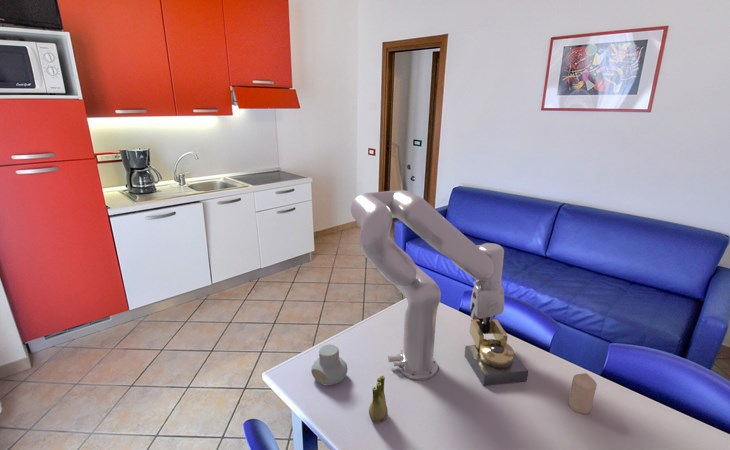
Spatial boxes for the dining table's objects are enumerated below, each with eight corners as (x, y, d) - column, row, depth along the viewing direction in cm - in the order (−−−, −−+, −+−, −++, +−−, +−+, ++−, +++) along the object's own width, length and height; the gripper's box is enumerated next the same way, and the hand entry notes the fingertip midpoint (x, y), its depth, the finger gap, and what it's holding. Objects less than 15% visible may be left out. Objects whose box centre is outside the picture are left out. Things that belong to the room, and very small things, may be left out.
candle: (569, 396, 105) (575, 367, 102) (591, 404, 102) (598, 375, 99) (566, 408, 101) (572, 378, 98) (589, 417, 98) (596, 387, 95)
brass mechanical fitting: (518, 367, 111) (520, 352, 109) (485, 367, 110) (486, 353, 109) (496, 332, 128) (498, 319, 126) (468, 332, 128) (469, 319, 126)
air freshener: (307, 377, 112) (305, 349, 109) (325, 363, 119) (324, 336, 116) (334, 393, 106) (333, 364, 103) (352, 377, 112) (351, 349, 109)
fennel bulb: (374, 428, 94) (375, 391, 91) (363, 416, 98) (363, 379, 95) (392, 418, 98) (393, 381, 94) (380, 406, 102) (381, 370, 98)
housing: (483, 386, 109) (484, 374, 108) (464, 355, 122) (465, 345, 121) (526, 381, 111) (528, 370, 110) (503, 352, 124) (505, 341, 123)
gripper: (474, 291, 111) (471, 342, 117) (516, 283, 115) (510, 333, 121) (461, 280, 118) (458, 329, 123) (500, 273, 122) (496, 321, 128)
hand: (484, 331), depth 122 cm, fingers closed
